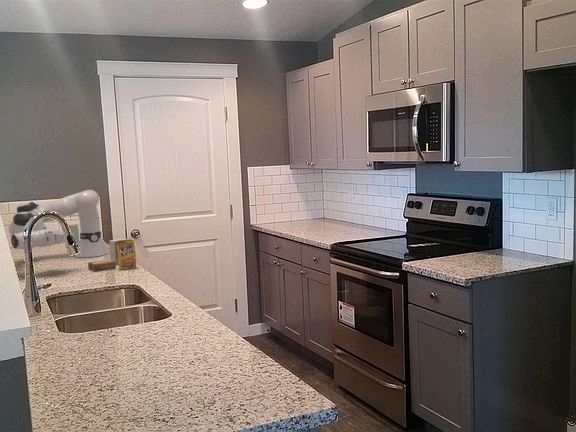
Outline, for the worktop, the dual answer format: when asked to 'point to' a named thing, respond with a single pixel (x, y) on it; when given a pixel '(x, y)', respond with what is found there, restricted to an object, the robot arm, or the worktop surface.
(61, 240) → the robot arm
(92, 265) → the base
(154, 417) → the worktop surface
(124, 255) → the candy box
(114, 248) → the small box
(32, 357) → the worktop surface
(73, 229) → the block
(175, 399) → the worktop surface
